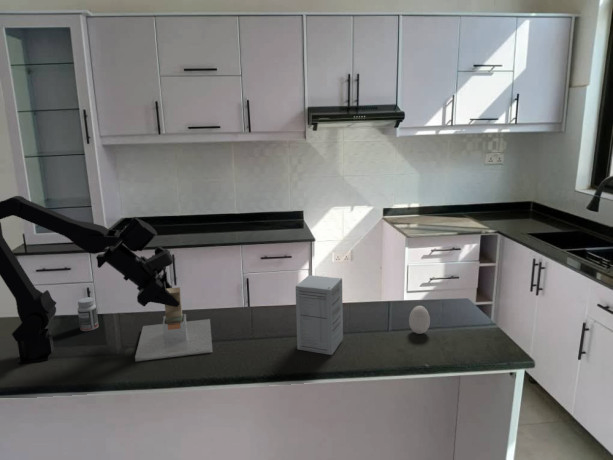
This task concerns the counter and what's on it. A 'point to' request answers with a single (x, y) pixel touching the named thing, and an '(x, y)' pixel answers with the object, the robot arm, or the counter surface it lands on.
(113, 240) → the robot arm
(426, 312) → the egg
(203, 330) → the stand
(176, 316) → the post
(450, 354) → the counter surface
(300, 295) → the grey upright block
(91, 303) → the pill bottle
